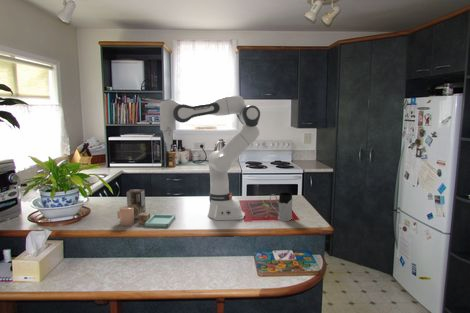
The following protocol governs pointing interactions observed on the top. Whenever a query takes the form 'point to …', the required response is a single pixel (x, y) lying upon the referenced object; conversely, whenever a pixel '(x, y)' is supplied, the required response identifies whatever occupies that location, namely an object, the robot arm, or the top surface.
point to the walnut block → (143, 217)
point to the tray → (160, 220)
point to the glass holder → (284, 206)
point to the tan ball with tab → (126, 215)
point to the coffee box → (136, 201)
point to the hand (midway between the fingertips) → (168, 150)
